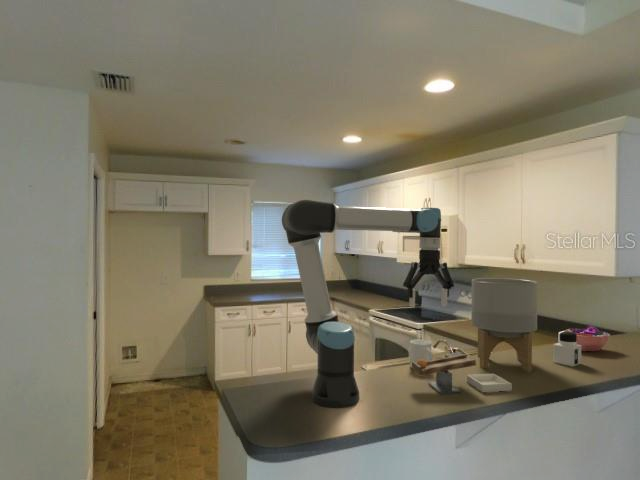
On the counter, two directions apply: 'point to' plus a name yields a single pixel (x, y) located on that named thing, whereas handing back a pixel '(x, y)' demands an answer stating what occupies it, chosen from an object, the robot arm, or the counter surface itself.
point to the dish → (489, 383)
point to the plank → (444, 364)
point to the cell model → (590, 338)
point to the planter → (504, 316)
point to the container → (567, 349)
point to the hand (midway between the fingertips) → (428, 306)
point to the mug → (420, 351)
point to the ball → (422, 363)
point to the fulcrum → (444, 383)
